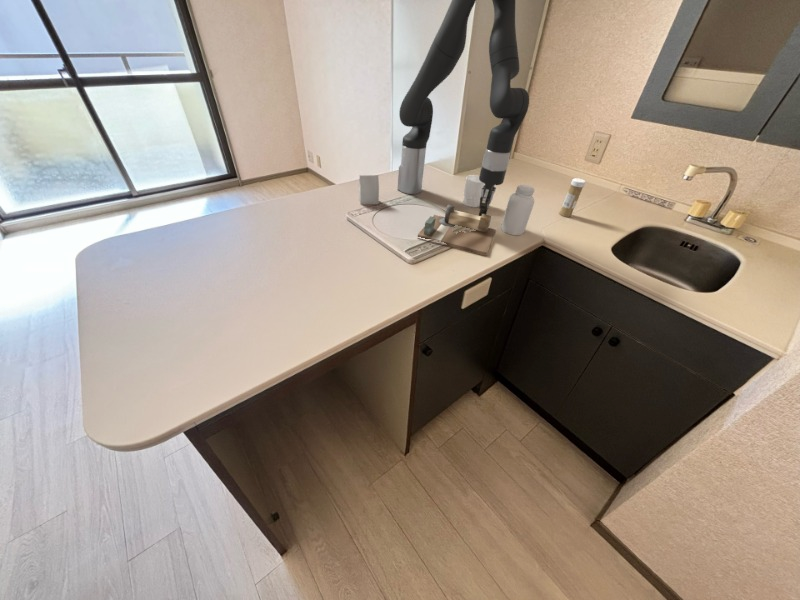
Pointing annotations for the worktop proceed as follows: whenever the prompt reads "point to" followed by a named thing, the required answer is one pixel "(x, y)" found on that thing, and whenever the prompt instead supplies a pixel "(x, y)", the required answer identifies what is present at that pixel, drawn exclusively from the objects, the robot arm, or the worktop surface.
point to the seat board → (457, 236)
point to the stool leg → (467, 219)
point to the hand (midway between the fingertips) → (481, 218)
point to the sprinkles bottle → (572, 197)
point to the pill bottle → (518, 210)
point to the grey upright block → (369, 189)
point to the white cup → (472, 191)
